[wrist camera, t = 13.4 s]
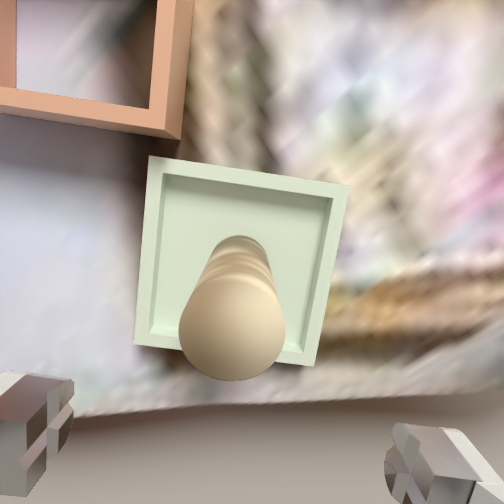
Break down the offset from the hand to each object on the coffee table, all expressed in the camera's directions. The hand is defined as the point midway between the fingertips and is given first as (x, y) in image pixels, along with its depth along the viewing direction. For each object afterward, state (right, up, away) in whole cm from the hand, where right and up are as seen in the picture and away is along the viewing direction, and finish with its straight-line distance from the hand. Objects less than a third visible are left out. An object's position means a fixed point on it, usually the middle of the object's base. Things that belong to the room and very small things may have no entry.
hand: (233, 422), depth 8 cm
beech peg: (-1, +3, +17) cm, 18 cm away
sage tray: (-1, +4, +18) cm, 19 cm away
